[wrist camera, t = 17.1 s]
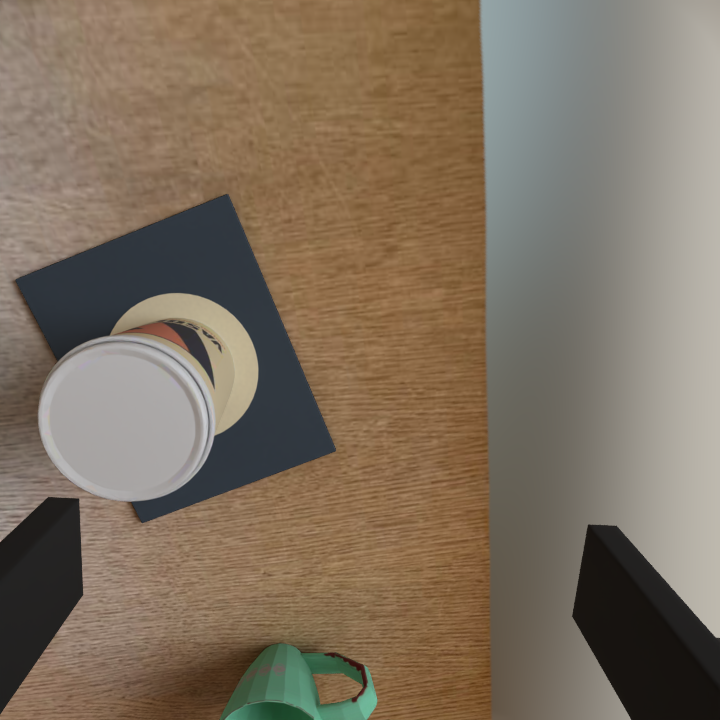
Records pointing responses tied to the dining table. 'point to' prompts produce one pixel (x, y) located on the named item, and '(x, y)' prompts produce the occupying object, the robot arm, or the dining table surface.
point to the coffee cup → (136, 408)
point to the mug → (297, 688)
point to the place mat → (203, 304)
